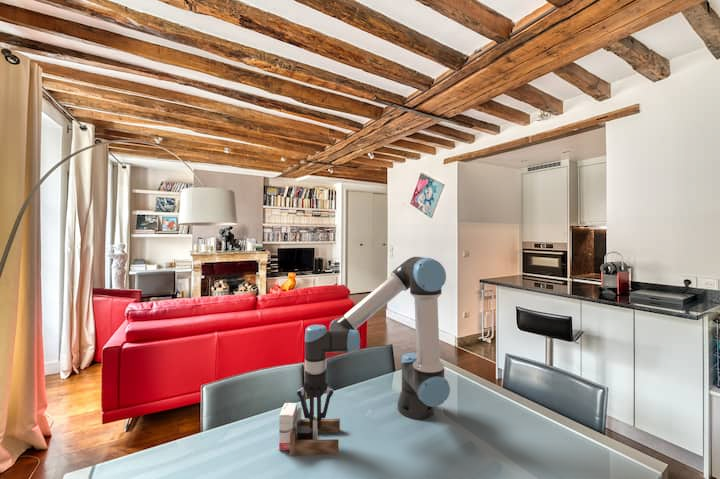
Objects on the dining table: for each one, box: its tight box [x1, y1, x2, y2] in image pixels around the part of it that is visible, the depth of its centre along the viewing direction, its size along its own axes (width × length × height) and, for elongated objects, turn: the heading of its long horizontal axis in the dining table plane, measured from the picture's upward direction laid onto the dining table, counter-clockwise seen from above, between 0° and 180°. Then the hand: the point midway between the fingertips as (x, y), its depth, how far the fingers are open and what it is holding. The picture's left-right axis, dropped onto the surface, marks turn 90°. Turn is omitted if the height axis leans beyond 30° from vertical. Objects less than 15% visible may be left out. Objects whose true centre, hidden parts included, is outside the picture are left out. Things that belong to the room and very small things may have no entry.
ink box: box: [278, 402, 298, 451], centre depth 108 cm, size 9×5×12 cm, turn 2°
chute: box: [289, 418, 341, 456], centre depth 108 cm, size 16×14×7 cm
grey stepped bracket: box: [293, 407, 313, 440], centre depth 108 cm, size 6×10×9 cm, turn 2°
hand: (315, 437), depth 108 cm, fingers closed
